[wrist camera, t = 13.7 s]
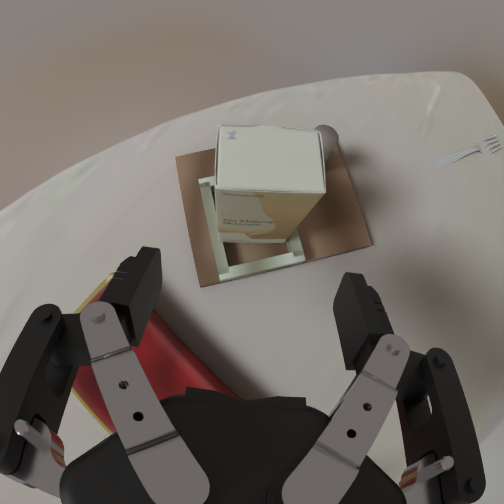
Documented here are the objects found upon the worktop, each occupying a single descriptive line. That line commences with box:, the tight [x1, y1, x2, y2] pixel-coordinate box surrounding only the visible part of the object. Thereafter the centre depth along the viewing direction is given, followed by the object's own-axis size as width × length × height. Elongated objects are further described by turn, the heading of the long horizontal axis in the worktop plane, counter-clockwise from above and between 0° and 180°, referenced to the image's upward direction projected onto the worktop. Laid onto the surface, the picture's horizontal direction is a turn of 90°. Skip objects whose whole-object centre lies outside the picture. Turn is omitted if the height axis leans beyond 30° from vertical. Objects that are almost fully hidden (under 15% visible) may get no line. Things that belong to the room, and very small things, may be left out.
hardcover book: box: [71, 272, 240, 435], centre depth 24 cm, size 12×21×4 cm, turn 44°
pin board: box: [175, 125, 372, 287], centre depth 27 cm, size 18×14×7 cm
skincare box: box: [215, 124, 326, 243], centre depth 21 cm, size 6×4×12 cm
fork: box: [435, 135, 503, 167], centre depth 34 cm, size 3×24×2 cm, turn 113°
